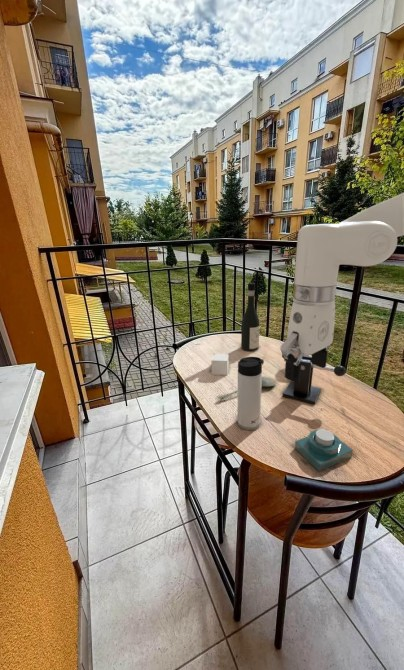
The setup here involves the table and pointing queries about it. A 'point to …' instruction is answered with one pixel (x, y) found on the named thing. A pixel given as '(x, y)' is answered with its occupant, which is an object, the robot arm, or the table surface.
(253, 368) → the travel mug
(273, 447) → the table surface
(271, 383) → the soupspoon
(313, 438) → the plate
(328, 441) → the flush button
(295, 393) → the lever bracket
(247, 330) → the wine bottle
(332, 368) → the flush lever
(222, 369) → the white cube
